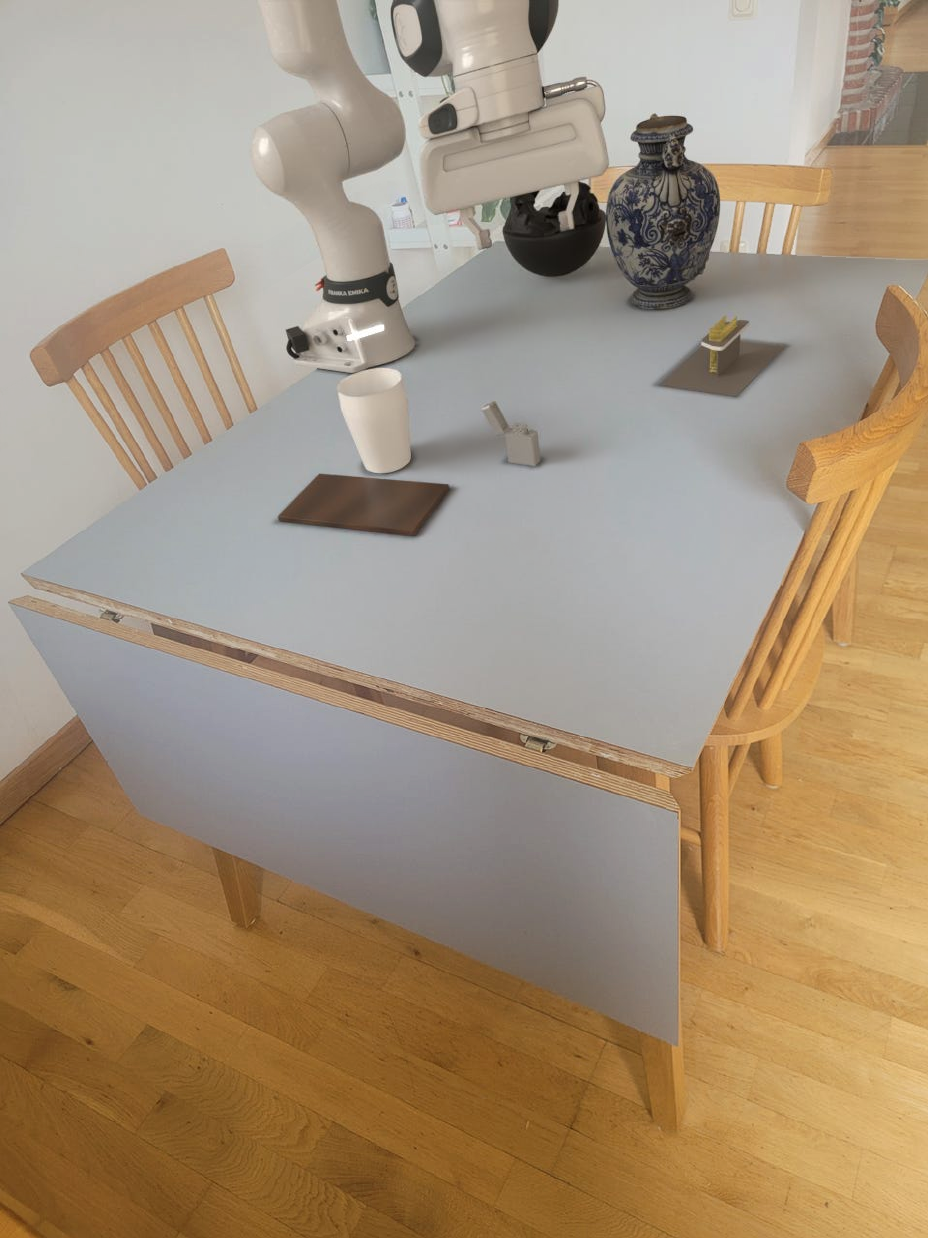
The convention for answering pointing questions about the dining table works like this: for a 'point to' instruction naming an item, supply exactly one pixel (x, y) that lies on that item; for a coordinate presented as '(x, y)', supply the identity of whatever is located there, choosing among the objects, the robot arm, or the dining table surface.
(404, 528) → the walnut board
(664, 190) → the decorative vase
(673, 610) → the dining table surface
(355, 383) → the cup
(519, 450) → the lighter
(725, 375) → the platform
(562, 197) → the coal bowl
